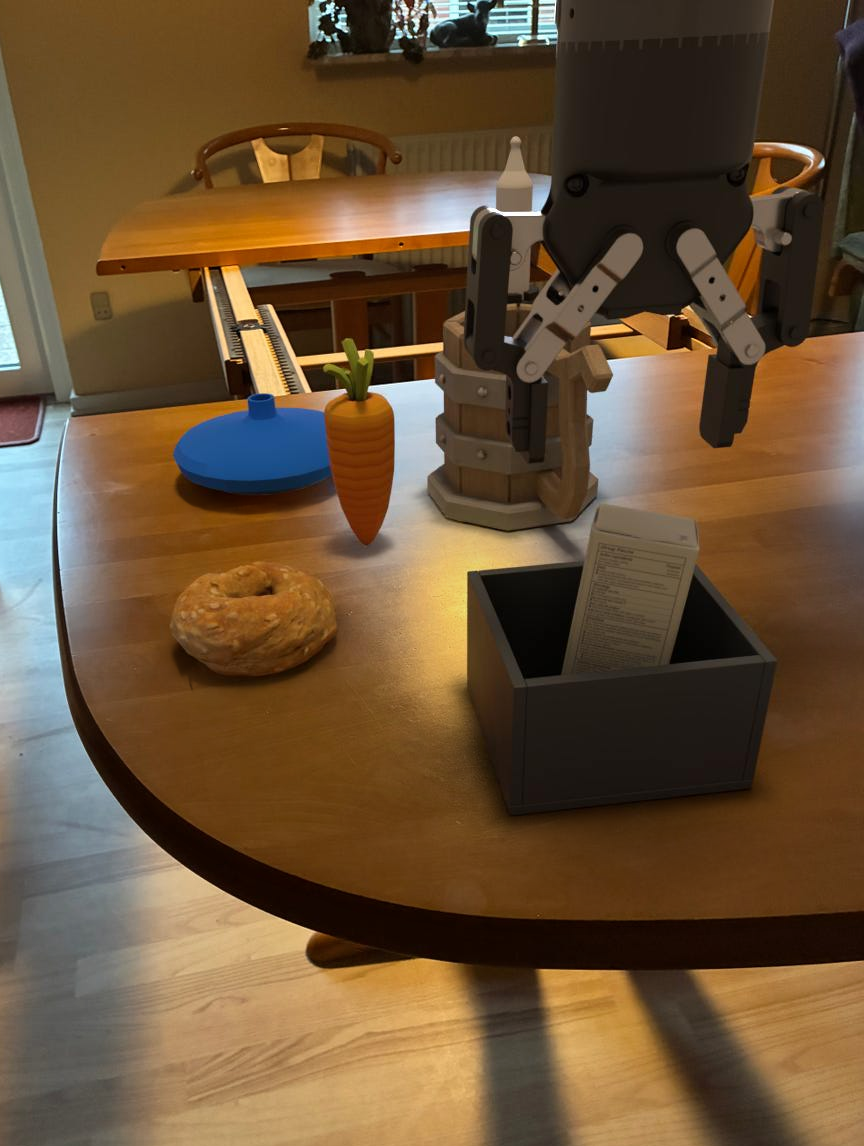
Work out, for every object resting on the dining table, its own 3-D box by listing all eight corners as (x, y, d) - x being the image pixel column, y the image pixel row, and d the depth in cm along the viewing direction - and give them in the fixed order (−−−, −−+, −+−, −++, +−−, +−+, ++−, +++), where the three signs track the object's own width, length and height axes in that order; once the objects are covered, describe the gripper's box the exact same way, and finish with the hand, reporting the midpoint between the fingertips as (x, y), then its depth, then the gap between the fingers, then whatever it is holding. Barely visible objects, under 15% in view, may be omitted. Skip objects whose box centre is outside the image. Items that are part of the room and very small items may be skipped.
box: (649, 708, 53) (704, 519, 48) (648, 750, 50) (706, 549, 45) (554, 686, 54) (597, 498, 49) (545, 725, 51) (591, 526, 45)
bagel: (377, 632, 62) (373, 566, 60) (239, 708, 56) (228, 637, 54) (278, 583, 69) (271, 521, 66) (144, 646, 62) (130, 580, 60)
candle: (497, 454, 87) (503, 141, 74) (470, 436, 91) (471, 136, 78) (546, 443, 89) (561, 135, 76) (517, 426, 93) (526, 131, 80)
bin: (670, 665, 58) (685, 550, 54) (752, 788, 48) (778, 660, 44) (466, 686, 57) (466, 571, 53) (509, 816, 48) (514, 687, 44)
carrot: (394, 562, 71) (384, 353, 63) (327, 559, 71) (309, 353, 64) (404, 532, 75) (397, 333, 67) (341, 529, 76) (326, 332, 68)
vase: (181, 525, 77) (166, 440, 74) (175, 455, 91) (163, 379, 87) (376, 501, 80) (372, 417, 76) (343, 436, 93) (338, 361, 89)
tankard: (415, 477, 84) (410, 296, 76) (553, 458, 86) (562, 280, 78) (495, 584, 67) (499, 367, 59) (663, 556, 70) (689, 344, 62)
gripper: (490, 37, 32) (485, 497, 41) (906, 14, 33) (815, 467, 42) (450, 37, 38) (453, 434, 47) (800, 18, 39) (741, 410, 48)
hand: (623, 449), depth 44 cm, fingers open, 8 cm apart
